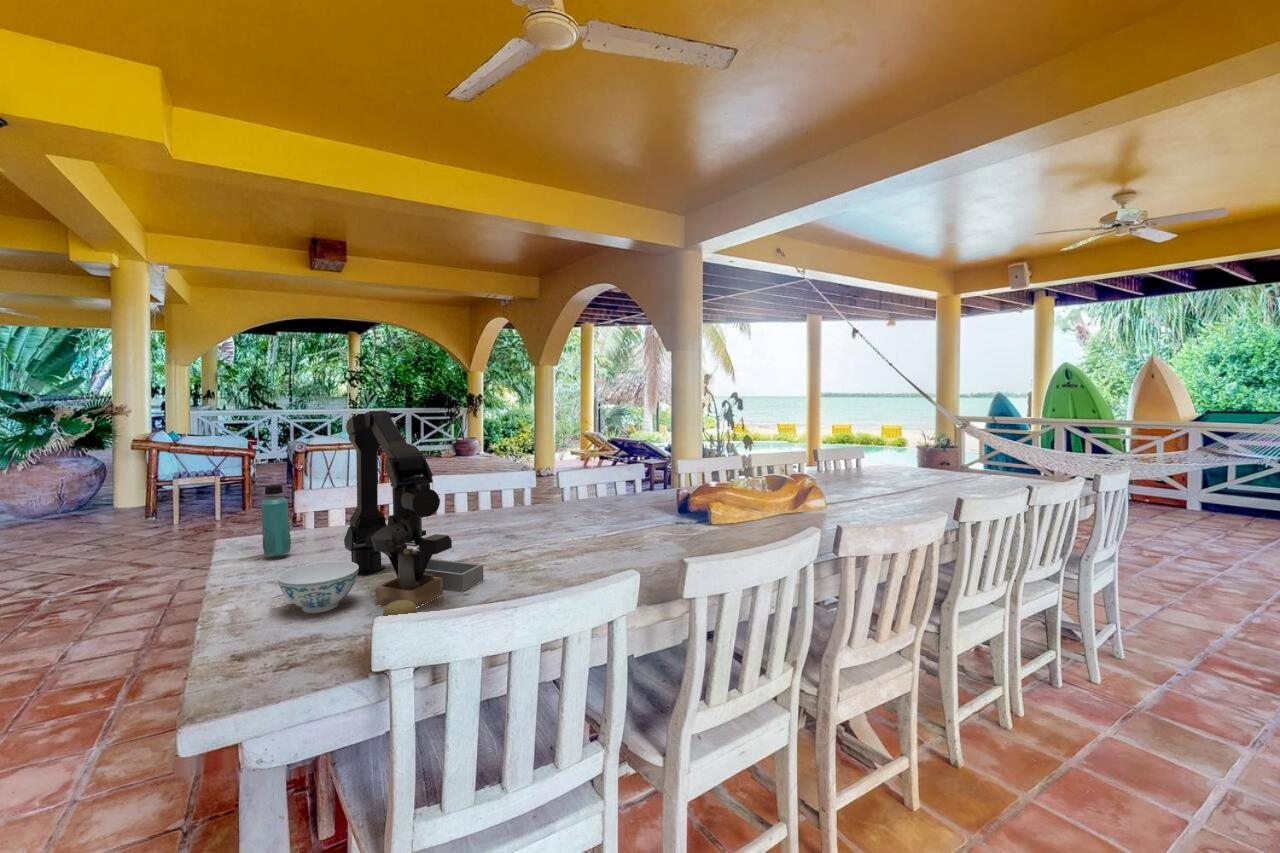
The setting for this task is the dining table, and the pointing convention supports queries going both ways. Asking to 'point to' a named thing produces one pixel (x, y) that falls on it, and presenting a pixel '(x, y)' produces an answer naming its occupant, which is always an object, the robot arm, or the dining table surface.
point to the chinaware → (318, 584)
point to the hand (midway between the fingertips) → (409, 579)
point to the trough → (455, 573)
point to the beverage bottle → (275, 523)
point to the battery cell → (407, 570)
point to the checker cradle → (421, 595)
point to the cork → (400, 610)
